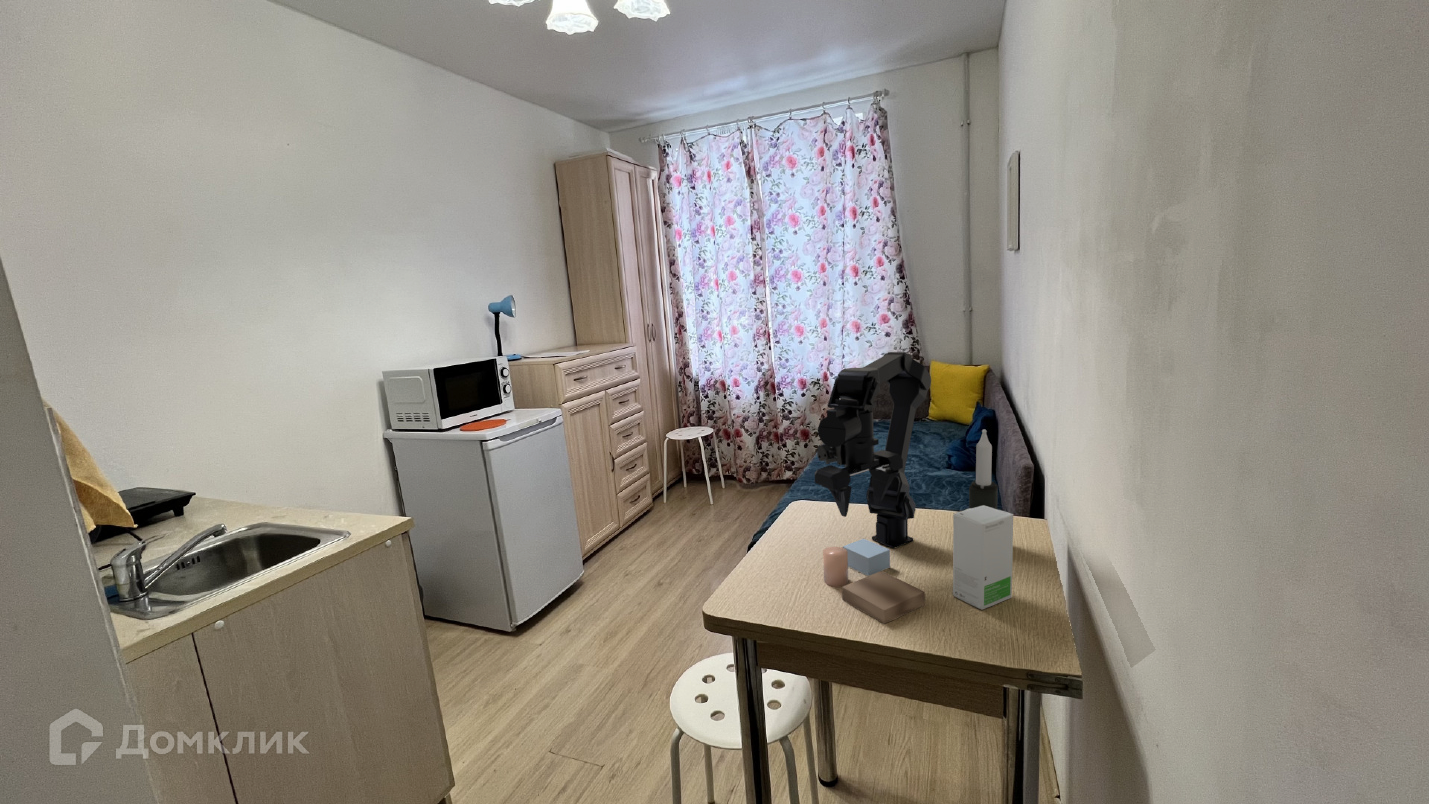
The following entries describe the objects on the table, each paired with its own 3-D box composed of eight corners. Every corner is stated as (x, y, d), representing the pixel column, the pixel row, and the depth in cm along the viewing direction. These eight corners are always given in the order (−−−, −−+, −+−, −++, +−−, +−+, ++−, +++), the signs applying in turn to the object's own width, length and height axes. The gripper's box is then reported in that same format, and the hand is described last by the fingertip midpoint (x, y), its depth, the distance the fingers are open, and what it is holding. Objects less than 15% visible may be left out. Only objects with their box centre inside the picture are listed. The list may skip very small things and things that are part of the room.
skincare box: (981, 611, 99) (982, 524, 96) (949, 595, 105) (950, 513, 102) (1013, 597, 103) (1016, 513, 100) (981, 582, 109) (982, 502, 106)
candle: (997, 541, 125) (999, 427, 121) (994, 550, 121) (996, 433, 117) (971, 537, 128) (973, 425, 123) (967, 546, 124) (968, 431, 119)
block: (863, 556, 123) (863, 538, 122) (889, 568, 117) (889, 549, 116) (842, 564, 120) (842, 546, 119) (868, 577, 114) (868, 558, 113)
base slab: (881, 583, 111) (881, 570, 110) (924, 604, 102) (924, 591, 102) (842, 599, 106) (842, 586, 106) (884, 624, 97) (884, 610, 97)
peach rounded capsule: (836, 572, 116) (836, 544, 115) (853, 581, 112) (852, 552, 111) (819, 579, 114) (818, 550, 113) (835, 589, 110) (834, 559, 109)
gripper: (862, 419, 125) (864, 488, 128) (794, 436, 115) (798, 510, 118) (904, 427, 115) (905, 502, 118) (833, 447, 106) (836, 527, 109)
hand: (860, 509), depth 116 cm, fingers open, 9 cm apart
